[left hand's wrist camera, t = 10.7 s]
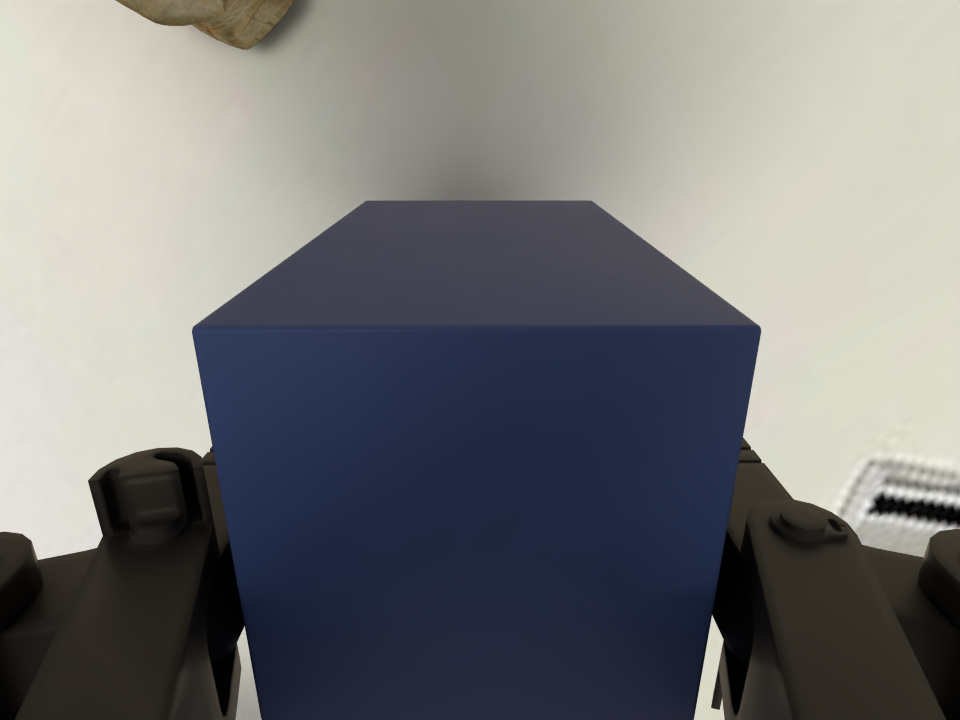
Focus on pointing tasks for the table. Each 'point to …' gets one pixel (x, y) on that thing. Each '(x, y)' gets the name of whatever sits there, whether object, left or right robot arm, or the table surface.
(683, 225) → the table surface
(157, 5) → the sculpture
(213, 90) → the table surface
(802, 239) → the table surface
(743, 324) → the bar
